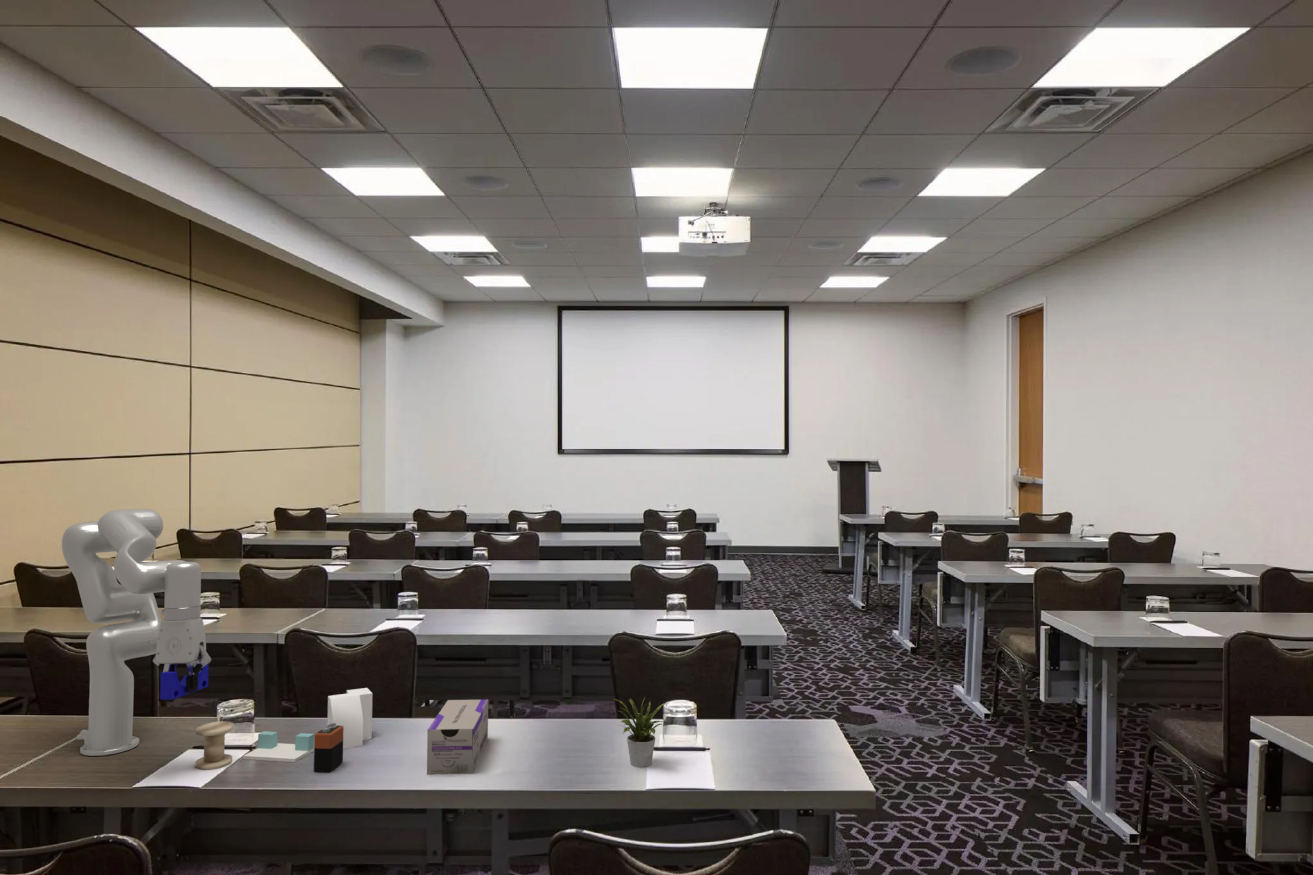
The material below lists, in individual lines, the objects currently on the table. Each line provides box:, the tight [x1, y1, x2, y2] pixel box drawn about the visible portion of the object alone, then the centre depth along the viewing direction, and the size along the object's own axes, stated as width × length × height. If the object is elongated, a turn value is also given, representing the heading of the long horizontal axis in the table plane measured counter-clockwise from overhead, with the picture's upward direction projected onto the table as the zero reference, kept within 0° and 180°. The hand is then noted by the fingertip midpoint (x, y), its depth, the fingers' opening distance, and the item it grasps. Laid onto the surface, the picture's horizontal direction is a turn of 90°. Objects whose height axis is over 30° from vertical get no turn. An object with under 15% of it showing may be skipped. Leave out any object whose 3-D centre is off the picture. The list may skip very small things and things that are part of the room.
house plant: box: [614, 695, 668, 768], centre depth 199 cm, size 14×14×16 cm
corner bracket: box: [326, 687, 373, 750], centre depth 215 cm, size 11×11×12 cm
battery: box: [313, 723, 344, 773], centre depth 196 cm, size 4×7×10 cm, turn 176°
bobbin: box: [194, 721, 234, 771], centre depth 198 cm, size 8×8×9 cm
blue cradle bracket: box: [159, 661, 209, 700], centre depth 194 cm, size 12×4×6 cm, turn 171°
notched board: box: [242, 730, 315, 763], centre depth 205 cm, size 14×10×4 cm
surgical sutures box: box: [426, 699, 489, 776], centre depth 204 cm, size 25×11×11 cm, turn 4°
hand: (181, 690), depth 193 cm, fingers closed on blue cradle bracket, 4 cm apart
